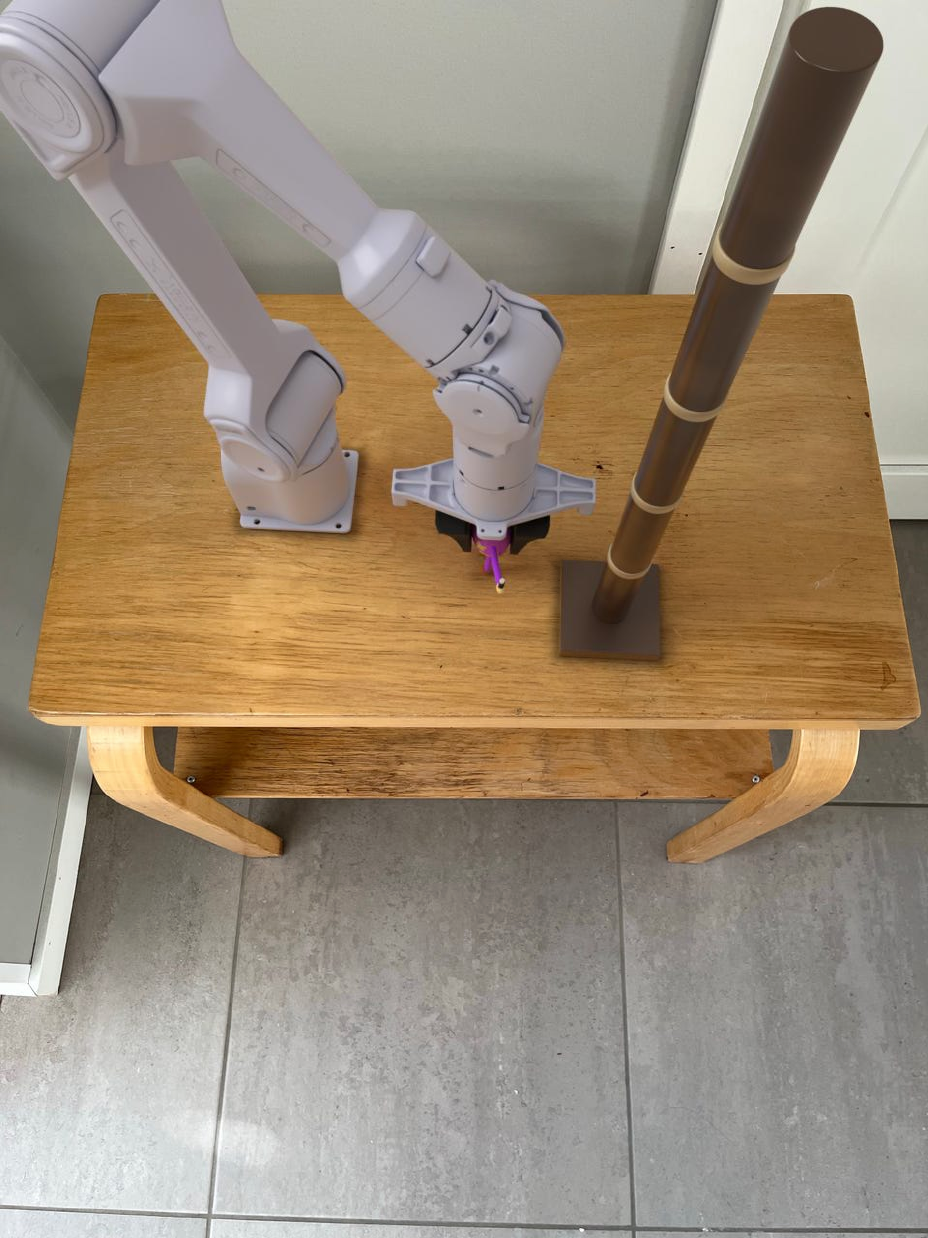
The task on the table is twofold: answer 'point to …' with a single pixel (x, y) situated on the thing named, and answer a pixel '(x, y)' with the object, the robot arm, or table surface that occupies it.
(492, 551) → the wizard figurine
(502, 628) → the table surface
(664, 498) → the measuring staff
